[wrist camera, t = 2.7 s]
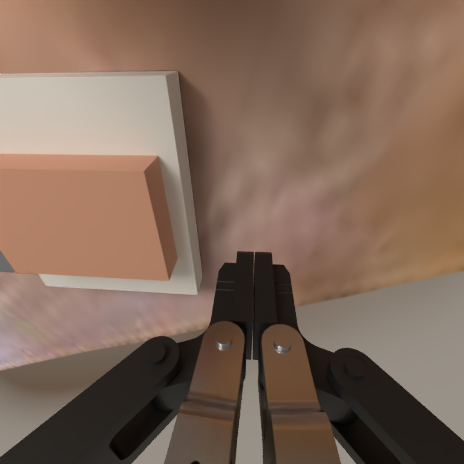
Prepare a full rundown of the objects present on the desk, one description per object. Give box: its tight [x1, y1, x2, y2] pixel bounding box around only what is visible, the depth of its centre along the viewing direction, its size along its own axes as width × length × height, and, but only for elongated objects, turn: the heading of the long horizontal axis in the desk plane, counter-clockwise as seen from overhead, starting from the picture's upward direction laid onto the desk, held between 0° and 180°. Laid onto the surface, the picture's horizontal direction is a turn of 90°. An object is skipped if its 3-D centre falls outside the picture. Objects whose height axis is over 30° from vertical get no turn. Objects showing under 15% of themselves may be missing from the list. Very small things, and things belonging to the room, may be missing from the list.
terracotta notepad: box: [0, 154, 178, 281], centre depth 15 cm, size 10×7×2 cm
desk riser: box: [0, 71, 203, 295], centre depth 17 cm, size 12×14×2 cm
